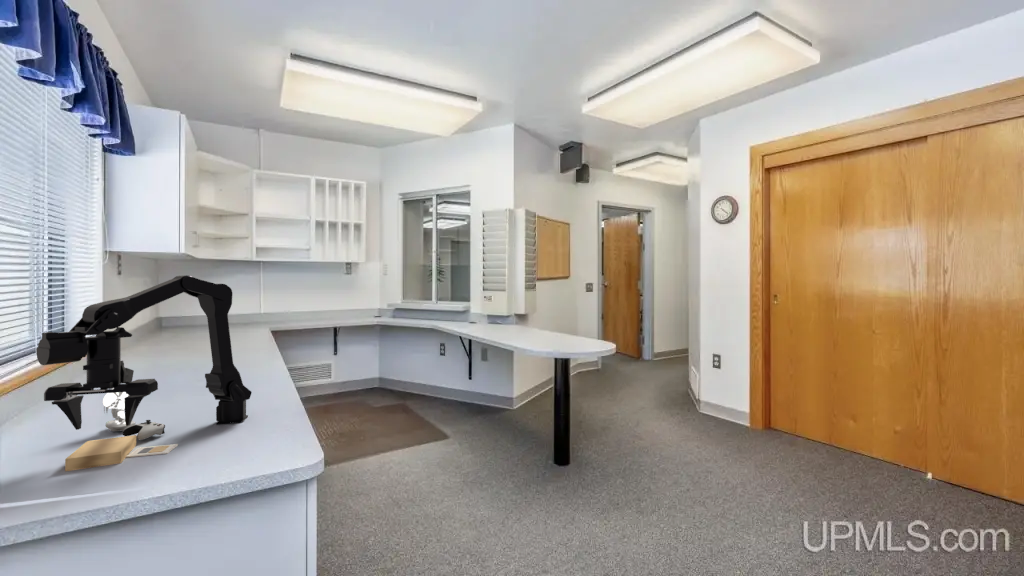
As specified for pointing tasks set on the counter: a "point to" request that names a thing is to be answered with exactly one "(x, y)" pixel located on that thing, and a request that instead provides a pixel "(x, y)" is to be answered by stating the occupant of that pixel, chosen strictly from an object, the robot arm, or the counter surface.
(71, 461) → the base brick
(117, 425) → the figurine
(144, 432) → the game controller
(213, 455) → the counter surface
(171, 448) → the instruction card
